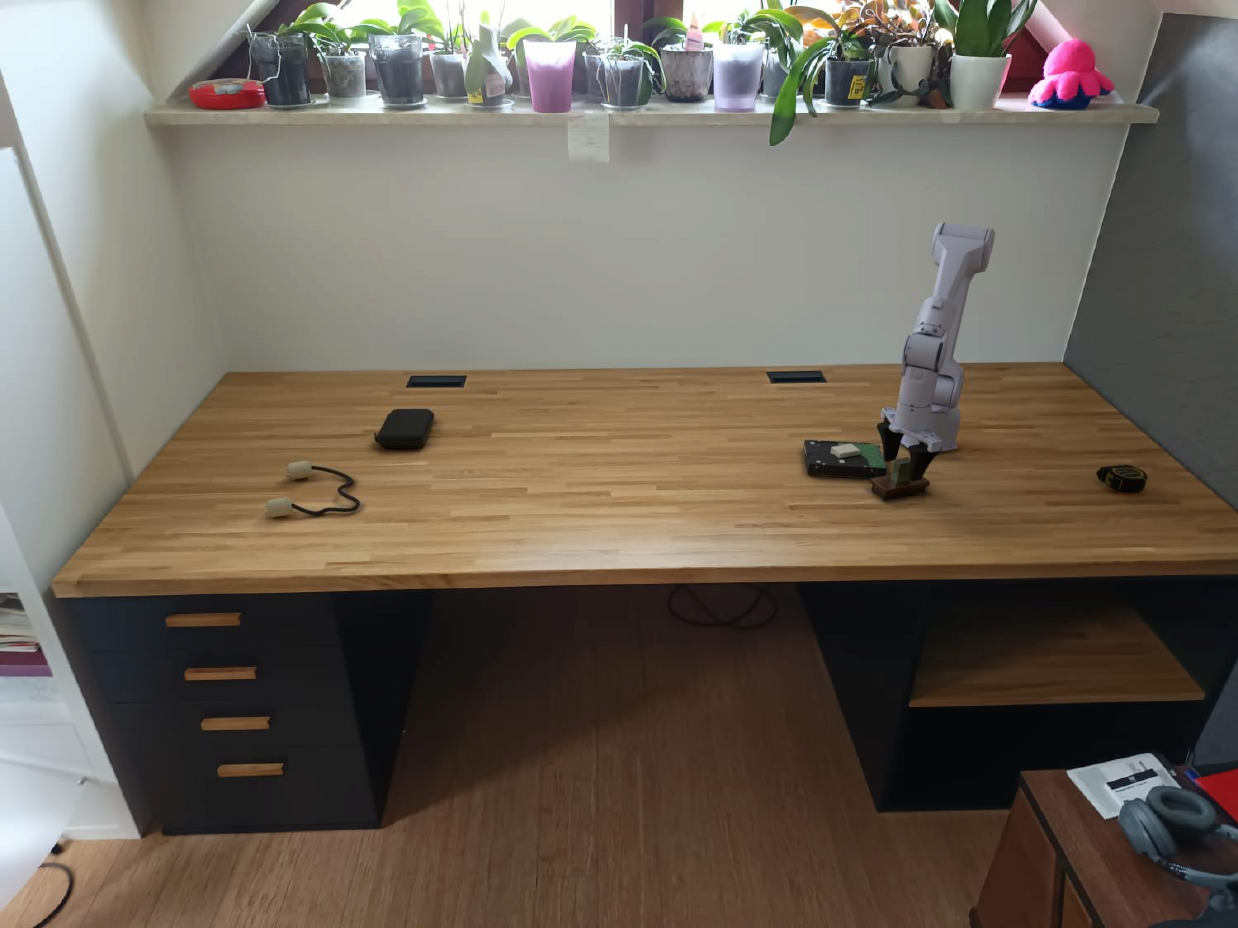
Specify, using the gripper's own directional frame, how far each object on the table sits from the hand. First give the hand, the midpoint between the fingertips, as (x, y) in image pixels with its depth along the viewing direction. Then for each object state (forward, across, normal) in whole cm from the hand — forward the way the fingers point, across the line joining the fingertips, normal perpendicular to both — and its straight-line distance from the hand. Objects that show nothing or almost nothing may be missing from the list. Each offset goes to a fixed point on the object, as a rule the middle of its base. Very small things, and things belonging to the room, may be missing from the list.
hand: (902, 469), depth 157 cm
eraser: (+2, -12, -4) cm, 13 cm away
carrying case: (+5, -53, -82) cm, 98 cm away
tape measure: (+5, +12, +40) cm, 42 cm away
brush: (+5, 0, 0) cm, 5 cm away
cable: (+5, -34, -100) cm, 106 cm away
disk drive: (+5, -12, -4) cm, 14 cm away
